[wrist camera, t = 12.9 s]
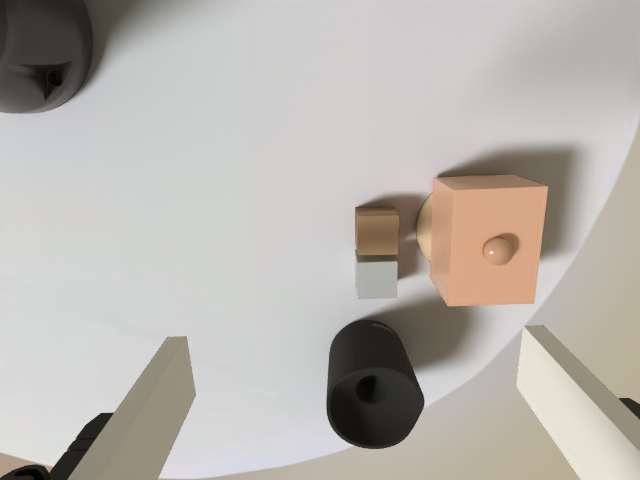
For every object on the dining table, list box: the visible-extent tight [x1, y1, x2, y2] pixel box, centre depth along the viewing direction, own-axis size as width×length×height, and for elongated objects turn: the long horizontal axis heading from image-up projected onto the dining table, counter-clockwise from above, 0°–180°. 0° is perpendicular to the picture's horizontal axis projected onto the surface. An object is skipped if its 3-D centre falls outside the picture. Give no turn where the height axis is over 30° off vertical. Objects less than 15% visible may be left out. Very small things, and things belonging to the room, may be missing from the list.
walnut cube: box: [355, 207, 399, 255], centre depth 42 cm, size 4×4×4 cm
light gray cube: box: [355, 250, 398, 299], centre depth 44 cm, size 4×4×4 cm
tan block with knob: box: [430, 174, 548, 306], centre depth 40 cm, size 11×8×8 cm
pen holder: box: [327, 321, 424, 449], centre depth 44 cm, size 9×9×10 cm
